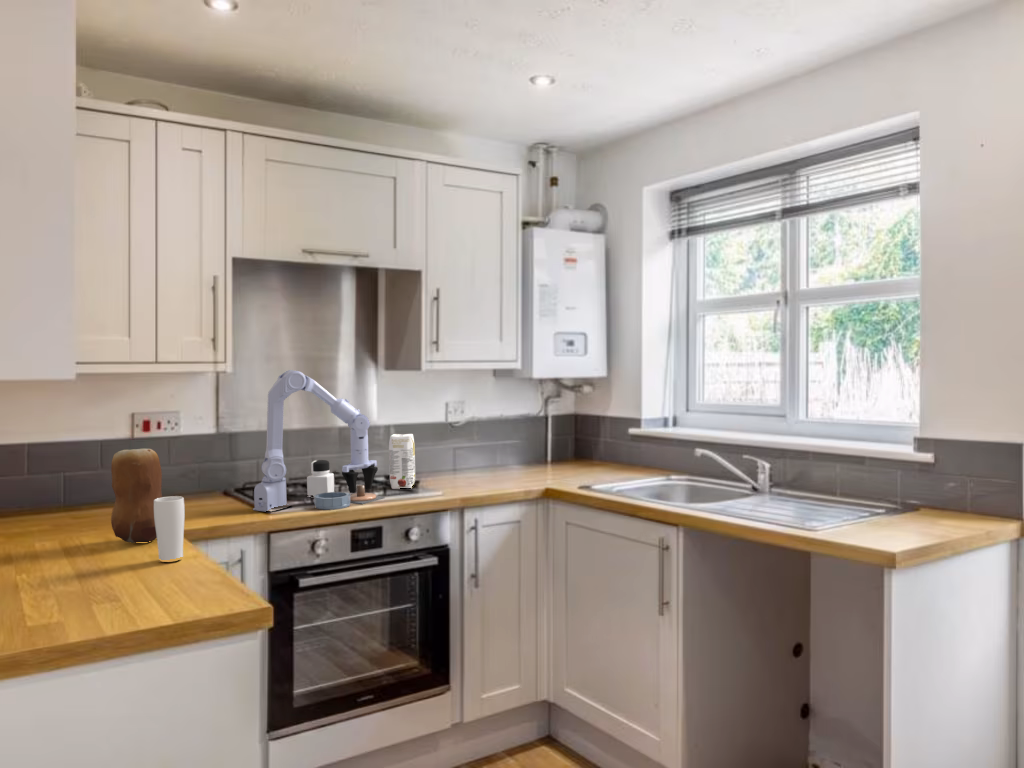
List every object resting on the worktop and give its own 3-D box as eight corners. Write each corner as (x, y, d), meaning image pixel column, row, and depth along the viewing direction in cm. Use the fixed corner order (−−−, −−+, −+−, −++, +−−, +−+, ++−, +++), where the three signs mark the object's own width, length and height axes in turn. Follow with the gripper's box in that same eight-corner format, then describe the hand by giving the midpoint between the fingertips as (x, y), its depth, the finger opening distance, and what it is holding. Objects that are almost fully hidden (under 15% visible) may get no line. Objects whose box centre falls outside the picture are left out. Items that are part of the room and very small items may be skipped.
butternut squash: (142, 534, 213) (138, 444, 212) (180, 538, 208) (177, 445, 207) (99, 547, 200) (95, 450, 199) (138, 551, 196) (134, 452, 194)
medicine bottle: (334, 493, 268) (333, 459, 268) (327, 497, 261) (326, 462, 260) (314, 493, 269) (313, 459, 268) (307, 497, 262) (306, 462, 261)
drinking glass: (191, 560, 187) (189, 498, 186) (163, 566, 182) (160, 502, 181) (178, 555, 192) (176, 494, 191) (150, 561, 187) (148, 499, 186)
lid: (362, 502, 250) (362, 489, 250) (339, 499, 255) (338, 486, 255) (382, 496, 259) (382, 484, 259) (359, 494, 264) (358, 481, 264)
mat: (361, 504, 249) (361, 502, 249) (336, 501, 255) (336, 499, 255) (384, 498, 259) (384, 496, 259) (359, 495, 265) (359, 493, 265)
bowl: (332, 511, 240) (332, 499, 240) (307, 507, 245) (307, 496, 245) (357, 504, 249) (356, 493, 249) (332, 501, 255) (331, 490, 254)
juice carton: (413, 489, 273) (412, 435, 272) (388, 489, 273) (387, 436, 272) (416, 485, 281) (415, 433, 280) (392, 485, 281) (391, 433, 280)
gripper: (353, 453, 248) (354, 495, 249) (383, 447, 260) (384, 488, 261) (336, 452, 252) (338, 493, 252) (367, 446, 264) (368, 486, 265)
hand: (360, 490), depth 257 cm, fingers open, 7 cm apart
